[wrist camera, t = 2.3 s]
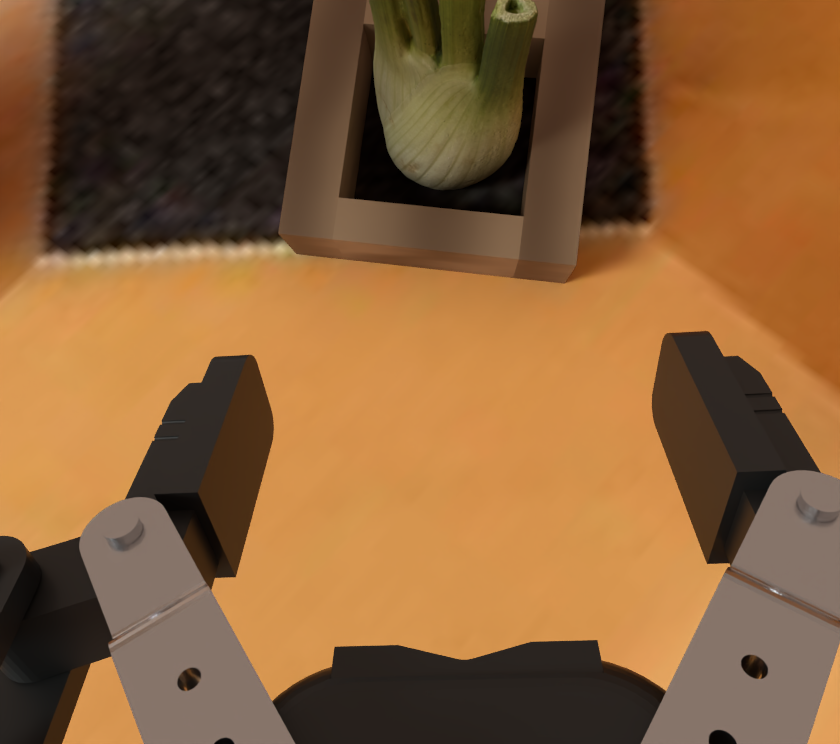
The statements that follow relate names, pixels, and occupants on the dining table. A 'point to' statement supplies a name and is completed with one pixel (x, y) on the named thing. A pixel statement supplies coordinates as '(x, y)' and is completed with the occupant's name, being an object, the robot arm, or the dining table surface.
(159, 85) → the dining table surface
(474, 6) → the fennel bulb
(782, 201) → the dining table surface
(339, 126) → the brown flat frame piece
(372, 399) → the dining table surface
